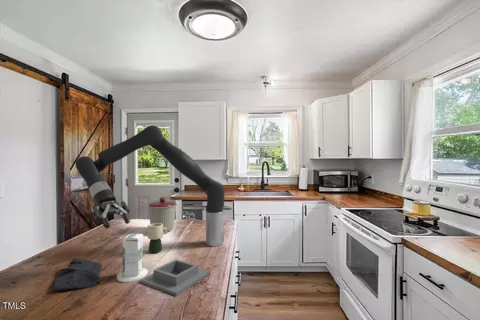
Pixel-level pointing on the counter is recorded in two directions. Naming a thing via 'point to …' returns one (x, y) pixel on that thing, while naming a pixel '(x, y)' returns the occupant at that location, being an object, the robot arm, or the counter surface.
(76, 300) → the counter surface
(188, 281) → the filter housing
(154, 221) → the canister
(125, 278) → the rubber pad
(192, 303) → the counter surface
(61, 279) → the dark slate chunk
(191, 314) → the counter surface
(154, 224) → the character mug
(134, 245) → the syrup box
